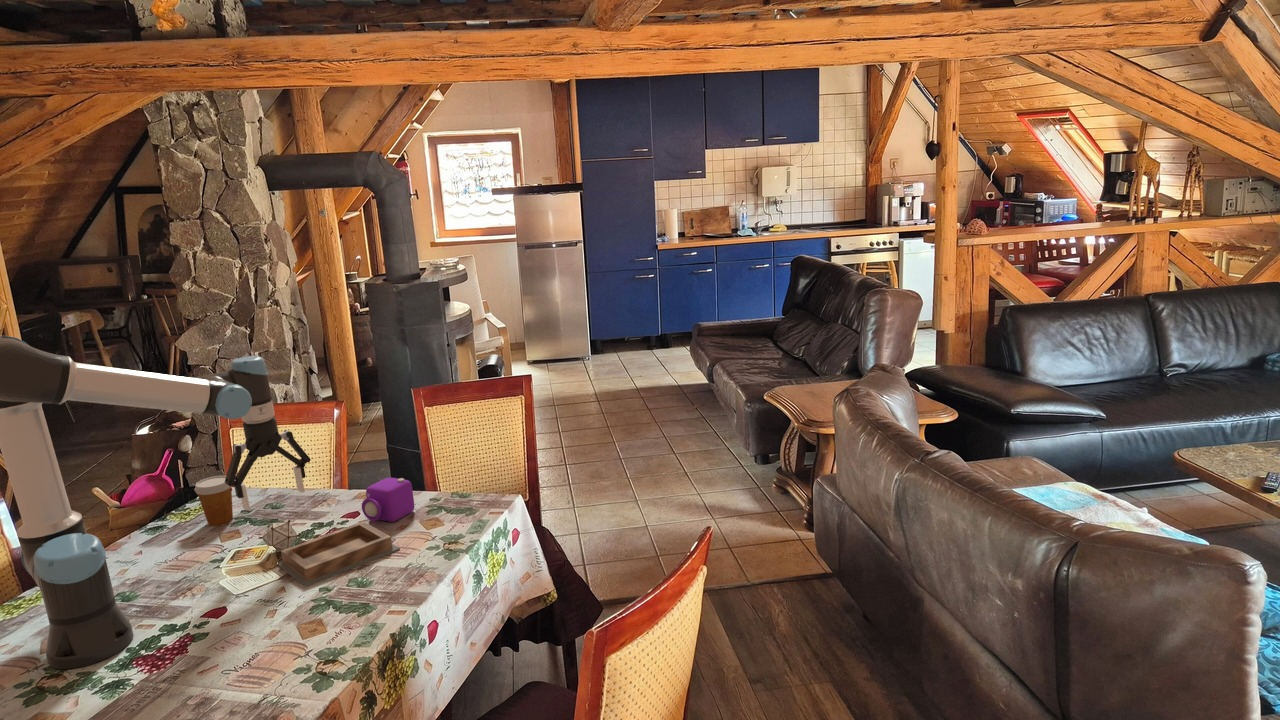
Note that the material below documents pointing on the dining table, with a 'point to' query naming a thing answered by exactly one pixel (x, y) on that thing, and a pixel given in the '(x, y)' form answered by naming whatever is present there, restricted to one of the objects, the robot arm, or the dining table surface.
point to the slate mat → (307, 583)
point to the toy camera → (388, 500)
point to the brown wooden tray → (336, 550)
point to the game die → (280, 535)
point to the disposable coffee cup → (215, 500)
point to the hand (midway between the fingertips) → (274, 499)
